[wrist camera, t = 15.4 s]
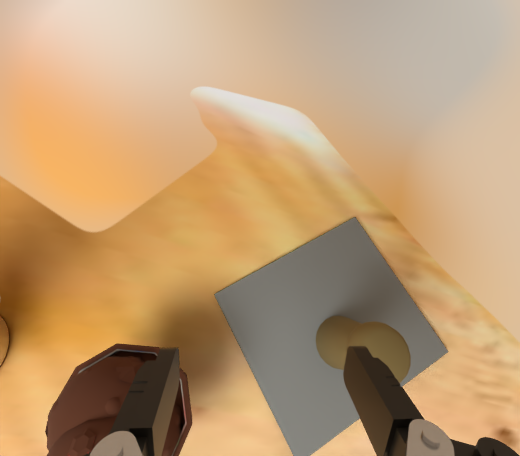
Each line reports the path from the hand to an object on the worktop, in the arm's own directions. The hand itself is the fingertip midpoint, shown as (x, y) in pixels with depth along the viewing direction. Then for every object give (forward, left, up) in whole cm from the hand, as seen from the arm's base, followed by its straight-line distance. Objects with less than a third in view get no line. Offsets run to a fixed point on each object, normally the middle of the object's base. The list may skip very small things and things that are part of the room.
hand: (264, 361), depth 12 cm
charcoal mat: (+9, -4, -21) cm, 23 cm away
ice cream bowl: (-12, 0, -21) cm, 24 cm away
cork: (+9, -6, -20) cm, 23 cm away
